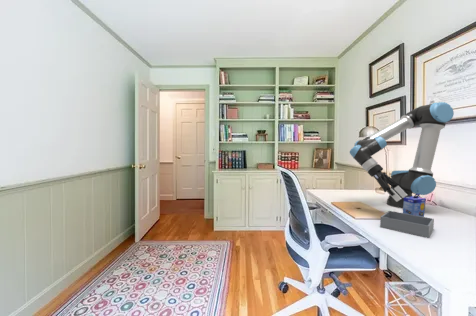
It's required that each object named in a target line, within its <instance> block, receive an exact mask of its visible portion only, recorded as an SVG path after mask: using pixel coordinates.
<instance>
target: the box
mask: <svg viewBox="0 0 476 316" xmlns="http://www.w3.org/2000/svg"><path fill="white" fill-rule="evenodd" d="M379 223H380V224H379V225H380V226H379V227H380V228H383V229H388V230H391V231H395V232H396V231H397V232H401V233H405V234H409V235H414V236H418V237H423V238H426V237H427V239H429V238H430V236H431V235H432V233H433V231H434V224H435V219H434V218H431V217H426V216H424V217H421V216H415V215H410V214H404V213H403V212H397V211H392V210H388V211H386V212H385V213H384V214H382V215H381V216H380V222H379Z"/></svg>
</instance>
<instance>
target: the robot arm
mask: <svg viewBox="0 0 476 316" xmlns="http://www.w3.org/2000/svg"><path fill="white" fill-rule="evenodd" d="M454 113H455V112H454V109H453V107H452V106H451V105H450V103H447V102H445V101H444V102H443V101H441V102H440V101H439V102H434V103H433V102H432V103H428V104H425V105H420V106H418V107H415V108H414V109H412V110H410V111H409V112H406V113H405V114H403V115H401V116H400V118H399V119H398V120H396V121H394V122H392V123H391V124H389V125H387V126H385V127H383V128H381V129H380V130H378V131H376V132H374V133H373V134H370V135H369V136H367V137H365V138H363V139H359V140H357V141H355V143H354V146H353V147H351V149H350V150H349V155H350V156H351V157H352V158H353V159H354V160H355V161H356V162H357V163H358V165H360V167H362V170H364V171H366V172H367V174H368V175H369V176H370V177H372V178H374V179H375V181H376V182H377V184H379V186H380V188H381V189H382V190H383V192H384V193H386V192H387V194H389V195H388V197H387V200H386V204H387V205H388V206H391V207H396V208H400V209H401V208H402V209H403V204H404V197H412V196H413V194H415V195H416V194H420V195H419V196H427V195H429V194H432V193H433V192H434V190H435V189H436V187H437V181H436V179H435V178H434V177H433V176H434V172H432V166H433V163H434V158H435V155H436V152H437V151H436V150H437V145H438V143H439V139H440V133H441V130H443V129H445V127H446V124H447V123H448V122H450V121H451V120H452V119H453V118H454ZM417 126H418V127H421V132H420V136H419V139H418V144H417V147H416V152H415V156H414V160H413V165H412V166H411V168H409V169H407V170H406V169H405V170H391V174H390V176H389V175H388V174H387V173H386V172H382V171H384V168H383V166H381V165H380V164H379V163H378V162H377V160H376V159H374V158H373V157H372V156H374V155H375V154H377V153H379V152H380V151H382V150H383V149H384V148H386V147H387V145H388V144H387V140H389V139H392V138H394V137H395V136H397V135H398V134H400V133H403V132H404V131H406V130H409V129H414V127H417Z"/></svg>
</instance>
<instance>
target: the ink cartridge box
mask: <svg viewBox="0 0 476 316" xmlns="http://www.w3.org/2000/svg"><path fill="white" fill-rule="evenodd" d="M426 200H427V199H426V197H422V196H421V195H420V194H415V195H412V197H404V204H403V208H402V213H404V214H410V215H415V216H421V217H425V209H426Z"/></svg>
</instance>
